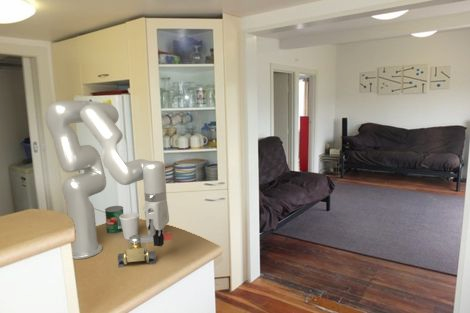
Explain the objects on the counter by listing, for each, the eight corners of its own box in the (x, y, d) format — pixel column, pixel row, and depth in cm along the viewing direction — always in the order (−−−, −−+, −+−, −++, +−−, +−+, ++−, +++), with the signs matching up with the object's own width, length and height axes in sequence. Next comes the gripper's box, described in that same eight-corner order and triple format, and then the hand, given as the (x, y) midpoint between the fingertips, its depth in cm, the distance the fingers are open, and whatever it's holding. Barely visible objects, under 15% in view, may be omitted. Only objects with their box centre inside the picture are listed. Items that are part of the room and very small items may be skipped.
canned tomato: (104, 234, 153) (102, 211, 151) (110, 228, 161) (108, 205, 159) (121, 234, 153) (119, 210, 151) (127, 227, 161) (125, 205, 159)
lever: (171, 240, 124) (171, 235, 123) (129, 245, 121) (128, 240, 120) (171, 236, 128) (171, 231, 128) (130, 240, 125) (129, 235, 125)
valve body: (117, 268, 121) (115, 247, 119) (120, 261, 127) (118, 240, 125) (154, 265, 123) (153, 244, 121) (155, 257, 129) (154, 237, 127)
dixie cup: (120, 241, 144) (118, 219, 143) (121, 234, 152) (120, 213, 151) (140, 239, 146) (138, 217, 144) (141, 232, 154) (139, 211, 152)
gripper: (157, 202, 111) (160, 255, 114) (173, 190, 125) (175, 237, 128) (136, 202, 112) (140, 254, 115) (154, 190, 127) (157, 236, 130)
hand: (158, 245), depth 122 cm, fingers closed
